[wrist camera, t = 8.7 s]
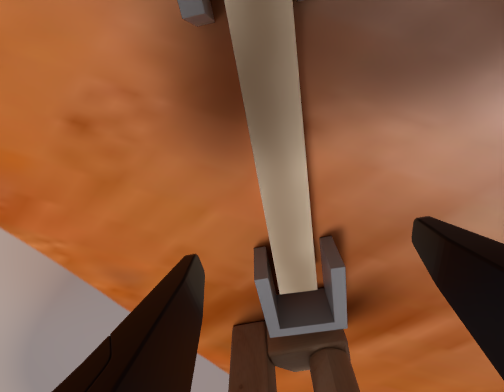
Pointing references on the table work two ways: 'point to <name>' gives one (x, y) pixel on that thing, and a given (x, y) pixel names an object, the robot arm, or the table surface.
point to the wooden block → (289, 359)
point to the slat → (276, 132)
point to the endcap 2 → (304, 297)
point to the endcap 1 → (198, 11)
